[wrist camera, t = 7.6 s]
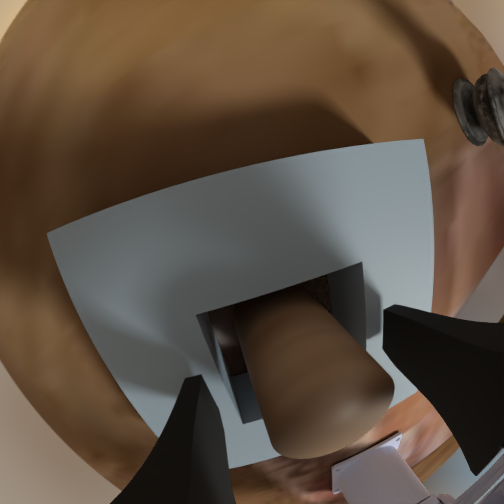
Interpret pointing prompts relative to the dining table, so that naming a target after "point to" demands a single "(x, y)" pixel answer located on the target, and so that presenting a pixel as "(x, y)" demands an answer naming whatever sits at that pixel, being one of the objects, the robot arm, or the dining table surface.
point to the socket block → (249, 269)
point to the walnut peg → (309, 374)
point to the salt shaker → (481, 107)
